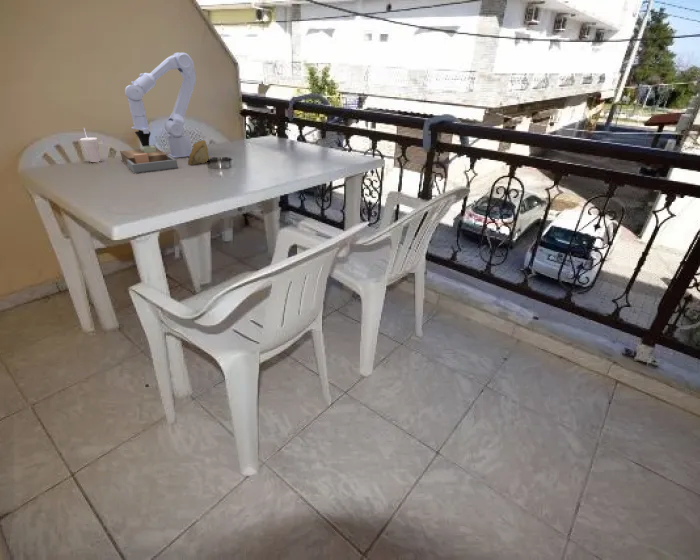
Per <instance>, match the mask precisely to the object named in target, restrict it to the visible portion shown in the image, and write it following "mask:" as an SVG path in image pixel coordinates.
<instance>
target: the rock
mask: <svg viewBox="0 0 700 560" xmlns="http://www.w3.org/2000/svg"><path fill="white" fill-rule="evenodd" d="M207 145H208V144H207V142H206V140H198V141H197V142H196V143H194V144H193V146H192V152H191V153H190V155H189V156H188V161H187V164H188V165H190V166H193V165H200V163H202V164H206V163H208V162H207V160H208V159H209V160H210V156H209V152H208V151H209V150H208V146H207ZM205 162H206V163H205Z"/></svg>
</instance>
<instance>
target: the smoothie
mask: <svg viewBox="0 0 700 560" xmlns="http://www.w3.org/2000/svg"><path fill="white" fill-rule="evenodd" d="M82 128H83V131H84V132H83V133H84V136H85V137H83V138H82V137H81V138H80V139H79V141H80V142H81V143H82V145H83V148H84V150H85V152H86V155H87V157H88V159H89V161H90V162H89V163H91V162H97V163H100V162H101V157H100V151H99V144H98V141H99V140H98V138H97V137H93V136H92V137H88V135H87V133H86V132H87V130H86V127H82ZM99 161H100V162H99Z"/></svg>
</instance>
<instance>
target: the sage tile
mask: <svg viewBox="0 0 700 560" xmlns="http://www.w3.org/2000/svg"><path fill="white" fill-rule="evenodd" d="M140 149H141V151H143V152H144V153H149V152H157V151H156V146H154V145H152V144H151V145H150V144H149V145H148V146H142V145H140Z"/></svg>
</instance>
